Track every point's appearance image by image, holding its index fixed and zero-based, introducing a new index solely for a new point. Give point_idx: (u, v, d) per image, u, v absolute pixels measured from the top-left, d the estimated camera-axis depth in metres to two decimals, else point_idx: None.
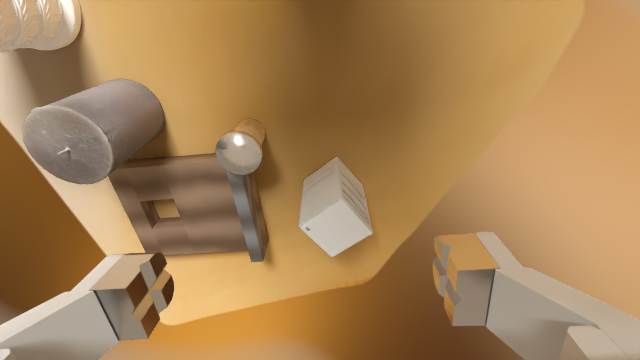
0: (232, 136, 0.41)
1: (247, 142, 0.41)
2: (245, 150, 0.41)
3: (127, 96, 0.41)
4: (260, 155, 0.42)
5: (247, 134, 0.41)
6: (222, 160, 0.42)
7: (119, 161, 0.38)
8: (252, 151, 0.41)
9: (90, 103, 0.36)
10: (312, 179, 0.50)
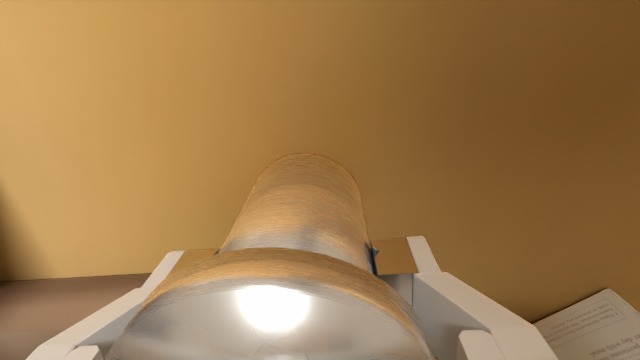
0: (232, 313, 0.04)
1: (359, 356, 0.05)
2: None
3: None
4: None
5: (357, 284, 0.05)
6: None
7: None
8: None
9: None
10: None
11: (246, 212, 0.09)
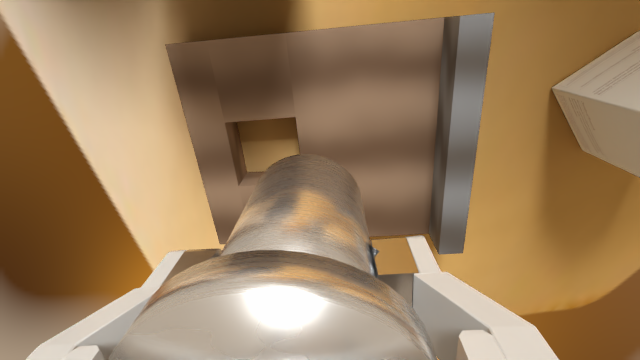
0: (235, 316, 0.04)
1: (361, 359, 0.05)
2: None
3: None
4: None
5: (360, 287, 0.05)
6: None
7: None
8: None
9: None
10: (597, 73, 0.24)
11: (247, 214, 0.09)
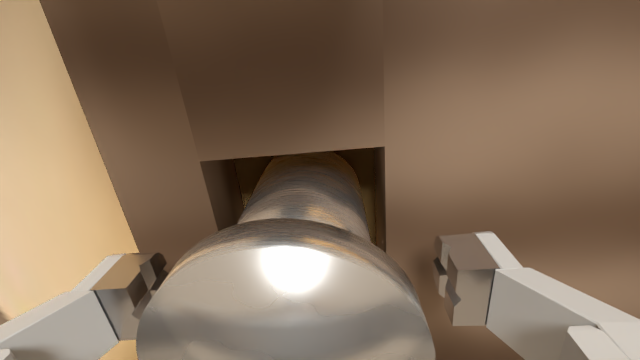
0: (253, 268, 0.05)
1: (358, 307, 0.06)
2: (335, 350, 0.06)
3: None
4: None
5: (357, 248, 0.06)
6: None
7: None
8: (383, 355, 0.06)
9: None
10: None
11: (256, 197, 0.10)
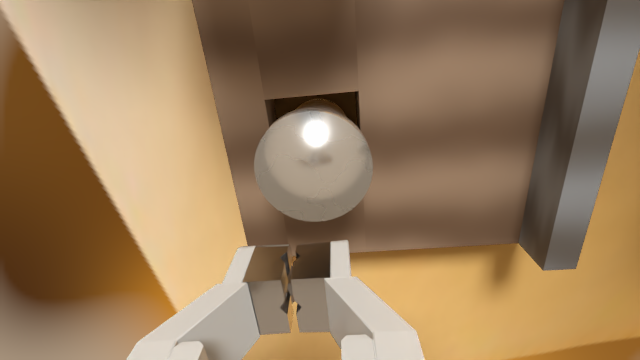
0: (303, 120, 0.15)
1: (341, 137, 0.15)
2: (333, 159, 0.16)
3: None
4: (370, 172, 0.16)
5: (341, 116, 0.15)
6: (270, 186, 0.16)
7: None
8: (352, 161, 0.16)
9: None
10: None
11: None
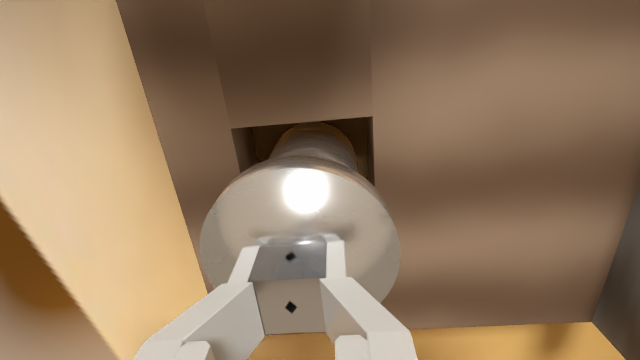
0: (280, 182, 0.08)
1: (348, 210, 0.09)
2: None
3: None
4: (395, 264, 0.10)
5: (348, 173, 0.09)
6: None
7: None
8: (365, 247, 0.09)
9: None
10: None
11: (274, 156, 0.13)
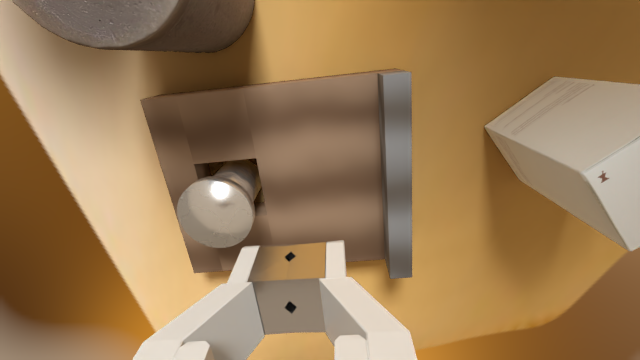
0: (204, 185, 0.24)
1: (229, 195, 0.24)
2: (226, 208, 0.25)
3: None
4: (251, 216, 0.25)
5: (230, 182, 0.25)
6: (189, 225, 0.26)
7: None
8: (238, 209, 0.25)
9: None
10: (517, 115, 0.27)
11: (213, 176, 0.29)
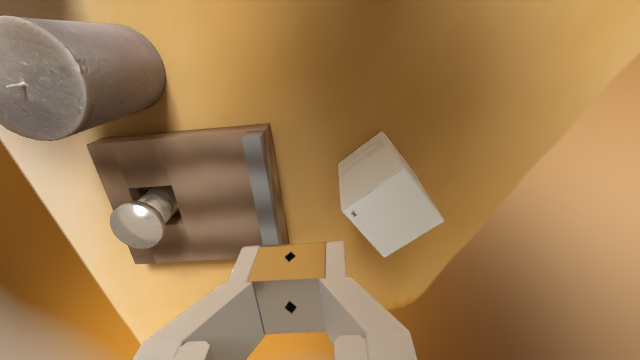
0: (126, 208, 0.36)
1: (144, 214, 0.36)
2: (143, 222, 0.37)
3: (116, 35, 0.31)
4: (160, 228, 0.37)
5: (144, 205, 0.36)
6: (119, 233, 0.38)
7: (97, 110, 0.27)
8: (151, 223, 0.37)
9: (62, 25, 0.26)
10: (351, 159, 0.39)
11: (141, 197, 0.40)
